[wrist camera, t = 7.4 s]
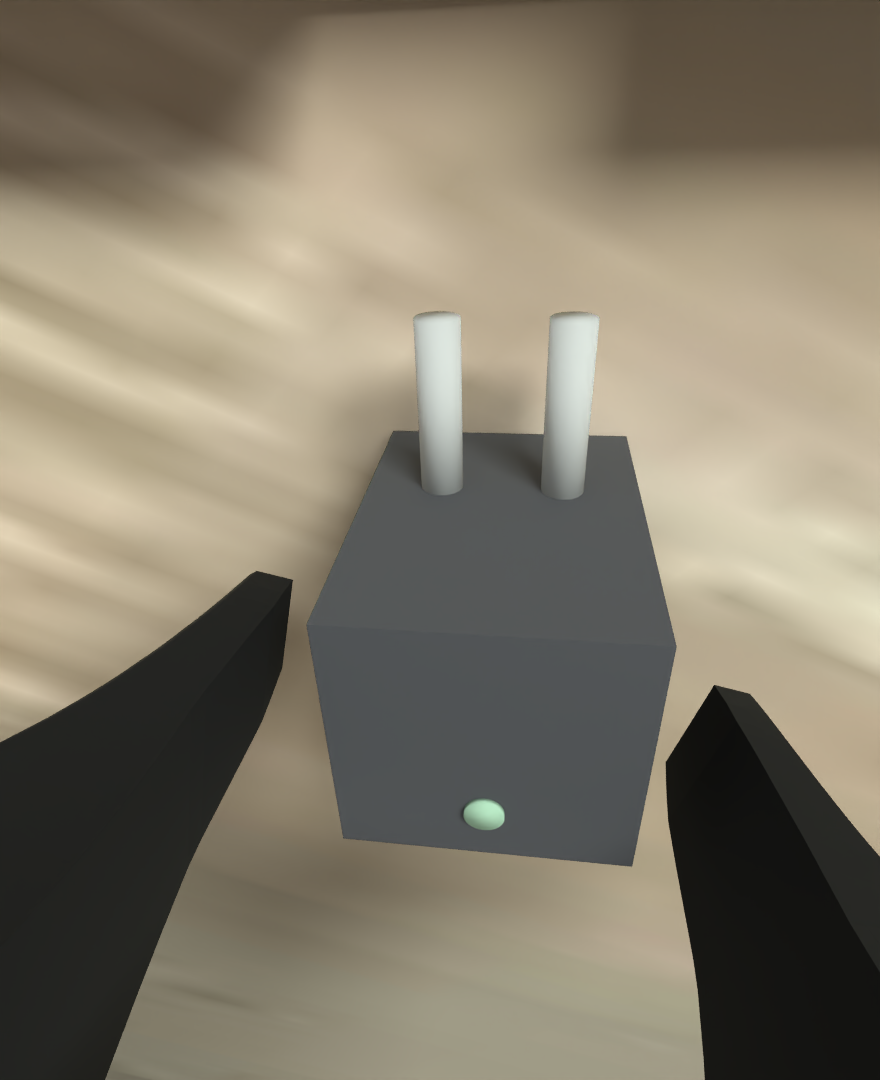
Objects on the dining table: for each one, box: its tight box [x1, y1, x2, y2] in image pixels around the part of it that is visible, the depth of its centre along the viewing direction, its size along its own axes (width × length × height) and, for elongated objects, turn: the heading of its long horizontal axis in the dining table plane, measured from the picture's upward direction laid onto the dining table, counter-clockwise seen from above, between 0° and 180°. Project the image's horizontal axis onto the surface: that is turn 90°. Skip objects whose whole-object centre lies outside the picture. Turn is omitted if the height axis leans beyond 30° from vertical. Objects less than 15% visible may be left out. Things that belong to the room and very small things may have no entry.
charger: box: [307, 311, 677, 867], centre depth 11 cm, size 4×7×6 cm, turn 1°
